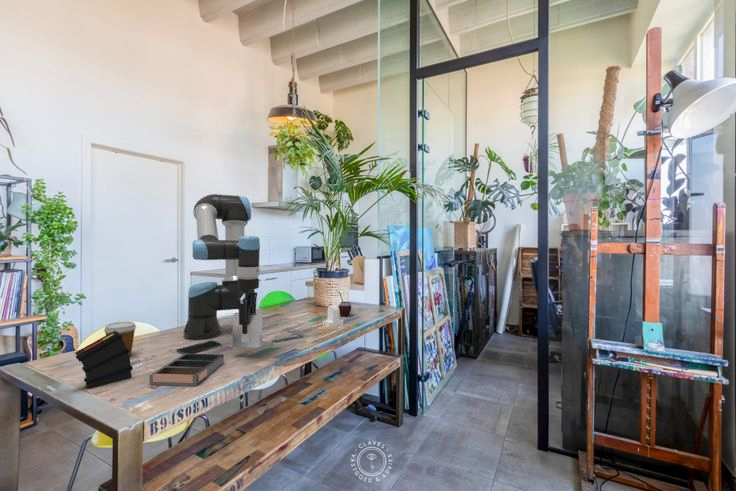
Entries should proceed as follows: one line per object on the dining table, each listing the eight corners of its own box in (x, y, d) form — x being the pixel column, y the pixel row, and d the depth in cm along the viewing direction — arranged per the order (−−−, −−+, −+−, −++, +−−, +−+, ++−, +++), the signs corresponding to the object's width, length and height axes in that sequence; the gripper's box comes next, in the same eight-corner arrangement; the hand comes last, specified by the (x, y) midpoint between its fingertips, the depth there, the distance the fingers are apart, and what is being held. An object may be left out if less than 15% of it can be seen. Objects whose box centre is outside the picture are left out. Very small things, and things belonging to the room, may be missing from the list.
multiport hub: (305, 342, 148) (305, 337, 148) (273, 349, 139) (273, 343, 139) (300, 340, 151) (300, 335, 151) (269, 346, 142) (269, 340, 142)
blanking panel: (232, 346, 127) (232, 314, 126) (235, 344, 130) (236, 312, 129) (259, 347, 127) (259, 315, 126) (261, 345, 130) (262, 313, 129)
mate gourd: (353, 316, 196) (353, 290, 196) (340, 318, 192) (341, 291, 192) (347, 314, 202) (347, 288, 202) (335, 315, 199) (335, 289, 198)
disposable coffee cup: (141, 356, 126) (141, 323, 126) (111, 364, 118) (111, 329, 118) (128, 351, 131) (128, 320, 131) (98, 358, 123) (98, 325, 123)
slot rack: (149, 384, 103) (149, 374, 103) (184, 361, 122) (184, 353, 122) (197, 386, 102) (197, 376, 102) (224, 363, 121) (224, 354, 121)
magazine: (143, 369, 110) (119, 331, 104) (97, 400, 101) (68, 360, 95) (139, 366, 112) (116, 329, 107) (94, 396, 103) (65, 357, 98)
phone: (175, 349, 132) (211, 340, 145) (175, 352, 132) (211, 342, 145) (186, 353, 128) (222, 343, 140) (186, 356, 128) (222, 346, 140)
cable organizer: (322, 324, 177) (322, 305, 177) (338, 322, 184) (338, 303, 183) (327, 326, 173) (328, 307, 173) (343, 324, 179) (344, 305, 179)
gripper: (250, 281, 119) (249, 347, 120) (265, 275, 135) (264, 334, 136) (229, 280, 119) (228, 347, 120) (246, 274, 135) (245, 333, 136)
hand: (247, 340), depth 128 cm, fingers closed on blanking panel, 3 cm apart
